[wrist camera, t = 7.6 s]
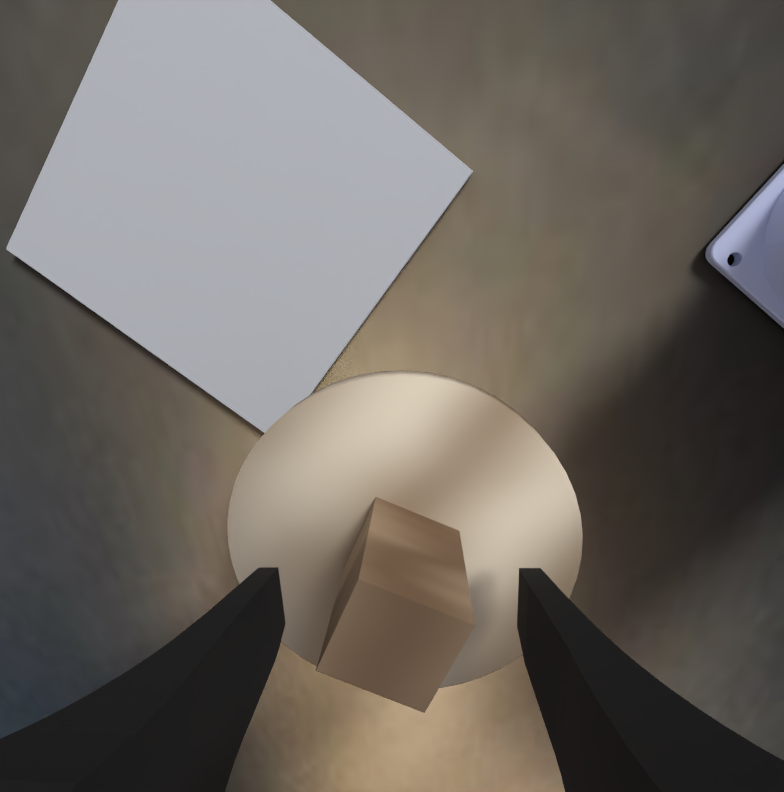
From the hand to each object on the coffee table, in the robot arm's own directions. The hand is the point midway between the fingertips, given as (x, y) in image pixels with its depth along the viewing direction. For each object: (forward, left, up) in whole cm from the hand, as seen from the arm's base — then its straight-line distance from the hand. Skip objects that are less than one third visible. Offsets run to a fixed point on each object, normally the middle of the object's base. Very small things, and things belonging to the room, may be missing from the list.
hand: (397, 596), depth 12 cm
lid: (0, 0, -3) cm, 3 cm away
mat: (+13, -5, -8) cm, 16 cm away
